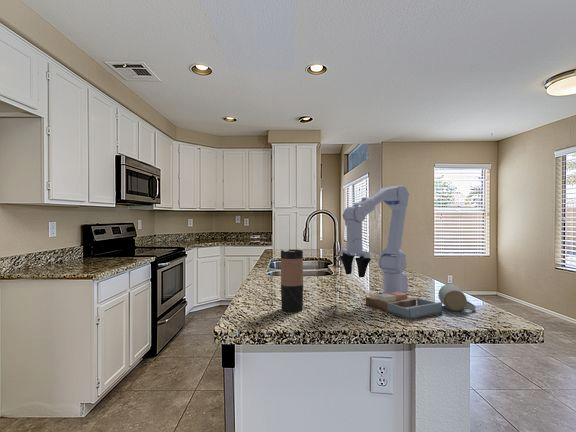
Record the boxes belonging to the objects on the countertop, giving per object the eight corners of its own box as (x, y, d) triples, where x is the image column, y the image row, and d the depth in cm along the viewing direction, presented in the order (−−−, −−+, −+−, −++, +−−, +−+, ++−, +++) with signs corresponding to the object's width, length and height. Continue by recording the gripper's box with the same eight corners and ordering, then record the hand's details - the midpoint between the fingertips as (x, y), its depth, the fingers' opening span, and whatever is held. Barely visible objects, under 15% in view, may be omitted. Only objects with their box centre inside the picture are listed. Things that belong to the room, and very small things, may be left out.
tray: (418, 306, 113) (418, 296, 113) (442, 313, 105) (441, 302, 105) (387, 312, 107) (387, 301, 107) (410, 319, 98) (410, 308, 98)
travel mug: (301, 313, 106) (301, 251, 106) (278, 312, 108) (278, 251, 108) (305, 307, 114) (304, 249, 114) (283, 306, 115) (283, 249, 115)
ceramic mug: (444, 311, 107) (444, 288, 107) (438, 305, 115) (438, 283, 115) (479, 314, 105) (479, 290, 105) (471, 307, 113) (471, 285, 113)
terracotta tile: (397, 296, 119) (397, 291, 119) (407, 298, 115) (407, 294, 115) (388, 297, 116) (388, 292, 116) (398, 300, 112) (397, 295, 112)
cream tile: (386, 297, 116) (386, 293, 116) (395, 300, 112) (395, 295, 112) (376, 299, 114) (376, 294, 114) (386, 302, 110) (386, 297, 110)
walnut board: (392, 299, 123) (392, 293, 123) (416, 306, 113) (416, 299, 113) (365, 304, 117) (365, 297, 117) (388, 311, 107) (388, 304, 107)
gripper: (334, 238, 125) (334, 273, 125) (358, 240, 113) (359, 279, 112) (348, 237, 129) (349, 272, 129) (374, 239, 116) (374, 277, 116)
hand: (354, 275), depth 121 cm, fingers open, 7 cm apart
